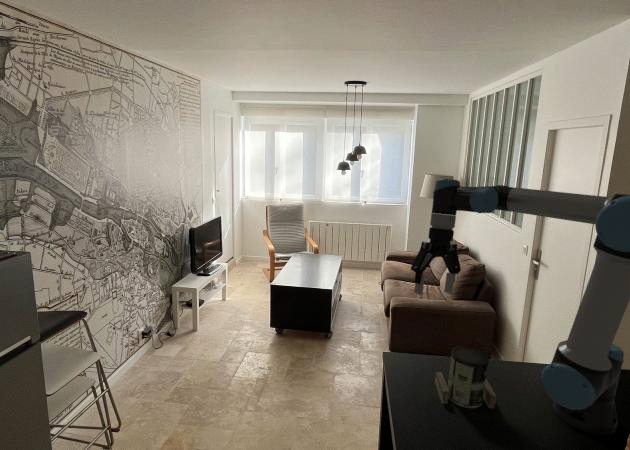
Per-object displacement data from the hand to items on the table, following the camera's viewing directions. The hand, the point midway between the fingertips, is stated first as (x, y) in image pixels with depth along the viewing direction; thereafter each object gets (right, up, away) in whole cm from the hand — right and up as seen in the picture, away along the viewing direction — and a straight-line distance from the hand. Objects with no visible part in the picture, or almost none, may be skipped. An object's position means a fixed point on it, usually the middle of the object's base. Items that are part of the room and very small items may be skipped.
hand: (433, 293), depth 130 cm
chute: (+6, -29, -9) cm, 31 cm away
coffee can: (+6, -30, -9) cm, 32 cm away
